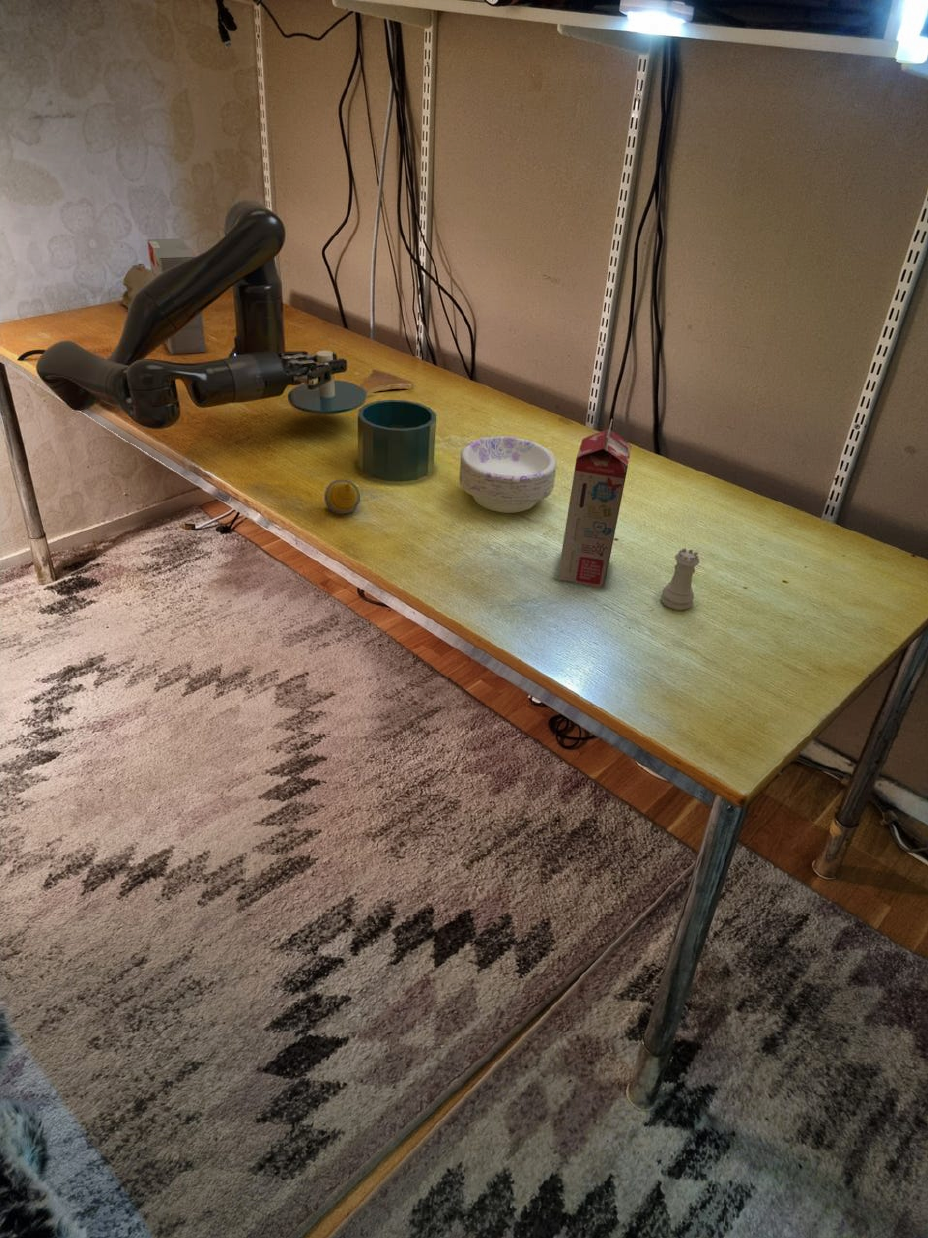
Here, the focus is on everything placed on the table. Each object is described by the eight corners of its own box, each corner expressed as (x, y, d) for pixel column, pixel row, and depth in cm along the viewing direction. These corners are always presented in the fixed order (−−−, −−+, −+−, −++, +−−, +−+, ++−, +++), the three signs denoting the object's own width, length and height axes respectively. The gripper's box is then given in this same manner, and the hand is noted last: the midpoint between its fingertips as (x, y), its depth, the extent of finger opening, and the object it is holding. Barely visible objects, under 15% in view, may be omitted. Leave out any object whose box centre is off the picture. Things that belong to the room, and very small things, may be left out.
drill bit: (363, 504, 138) (374, 486, 128) (338, 526, 136) (347, 509, 127) (340, 479, 137) (349, 459, 128) (315, 500, 136) (322, 481, 126)
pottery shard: (359, 397, 174) (359, 384, 172) (359, 380, 181) (359, 368, 180) (412, 398, 175) (412, 386, 174) (409, 381, 182) (409, 369, 181)
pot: (355, 482, 143) (355, 427, 138) (360, 449, 153) (360, 397, 148) (433, 486, 144) (436, 432, 138) (433, 453, 154) (436, 402, 149)
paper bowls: (491, 530, 133) (496, 483, 128) (440, 488, 143) (443, 444, 139) (569, 511, 140) (577, 466, 136) (515, 472, 150) (521, 429, 146)
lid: (281, 415, 151) (276, 366, 145) (295, 384, 162) (291, 337, 156) (362, 418, 151) (360, 369, 145) (370, 387, 162) (369, 340, 156)
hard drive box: (158, 332, 196) (146, 238, 185) (193, 330, 199) (183, 237, 187) (170, 355, 185) (158, 256, 173) (207, 352, 188) (197, 255, 176)
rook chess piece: (656, 593, 122) (668, 544, 117) (686, 593, 122) (699, 544, 118) (664, 611, 118) (677, 561, 114) (696, 612, 119) (710, 562, 114)
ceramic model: (183, 310, 210) (178, 267, 205) (140, 318, 203) (134, 273, 198) (151, 296, 218) (146, 254, 212) (109, 303, 211) (103, 260, 205)
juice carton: (608, 564, 127) (636, 422, 115) (603, 587, 122) (632, 441, 109) (563, 556, 128) (586, 414, 116) (557, 579, 123) (580, 433, 110)
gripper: (234, 385, 151) (321, 370, 160) (272, 413, 142) (362, 395, 152) (230, 342, 147) (320, 329, 156) (269, 368, 138) (362, 352, 147)
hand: (340, 361), depth 154 cm, fingers closed on lid, 3 cm apart
